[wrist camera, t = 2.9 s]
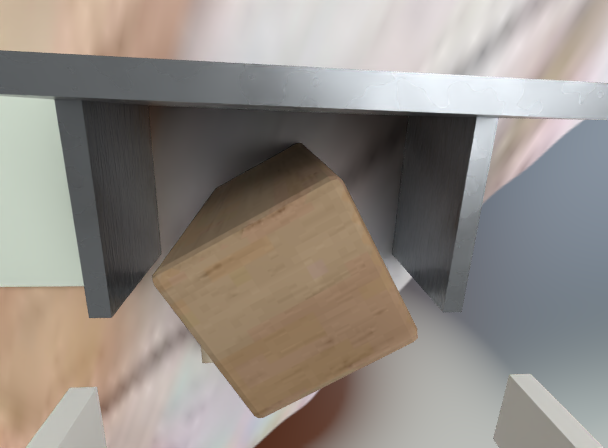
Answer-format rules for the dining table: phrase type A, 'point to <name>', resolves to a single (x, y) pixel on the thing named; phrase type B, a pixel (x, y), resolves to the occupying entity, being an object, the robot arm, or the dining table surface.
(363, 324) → the wooden block
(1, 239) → the sage mat
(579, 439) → the robot arm
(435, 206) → the rack
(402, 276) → the dining table surface
